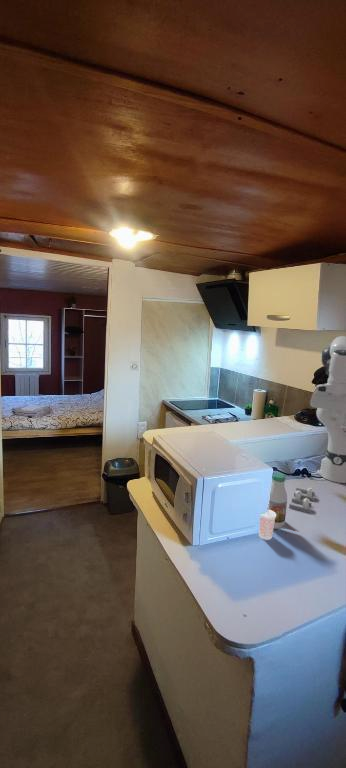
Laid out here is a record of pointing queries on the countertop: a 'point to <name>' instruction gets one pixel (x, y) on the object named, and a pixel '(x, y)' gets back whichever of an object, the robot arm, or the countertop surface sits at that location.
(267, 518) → the beverage cup
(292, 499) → the switch bank
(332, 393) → the robot arm
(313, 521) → the countertop surface
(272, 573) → the countertop surface
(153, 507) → the countertop surface
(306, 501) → the tab
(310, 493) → the tab
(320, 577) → the countertop surface
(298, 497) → the tab
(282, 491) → the milk bottle
